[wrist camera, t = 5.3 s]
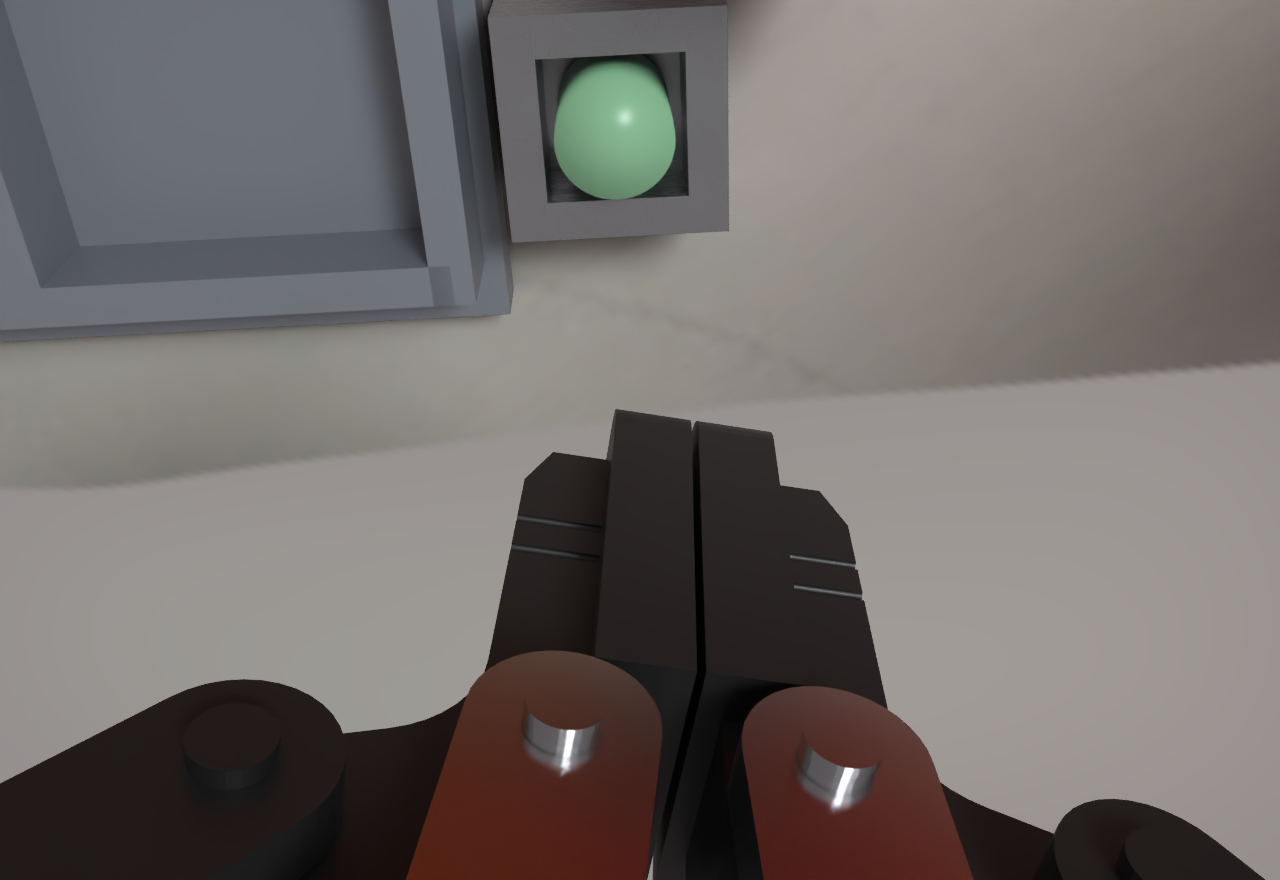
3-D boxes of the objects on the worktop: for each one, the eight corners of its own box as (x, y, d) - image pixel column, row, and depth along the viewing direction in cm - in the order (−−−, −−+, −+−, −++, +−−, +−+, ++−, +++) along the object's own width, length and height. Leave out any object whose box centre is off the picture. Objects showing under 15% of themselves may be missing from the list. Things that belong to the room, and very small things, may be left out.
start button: (667, 43, 27) (673, 76, 25) (670, 154, 29) (677, 196, 26) (552, 49, 27) (548, 83, 25) (562, 160, 29) (558, 203, 26)
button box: (711, -33, 28) (727, 5, 25) (714, 172, 31) (729, 230, 28) (500, -21, 28) (487, 17, 25) (521, 182, 31) (511, 243, 28)
